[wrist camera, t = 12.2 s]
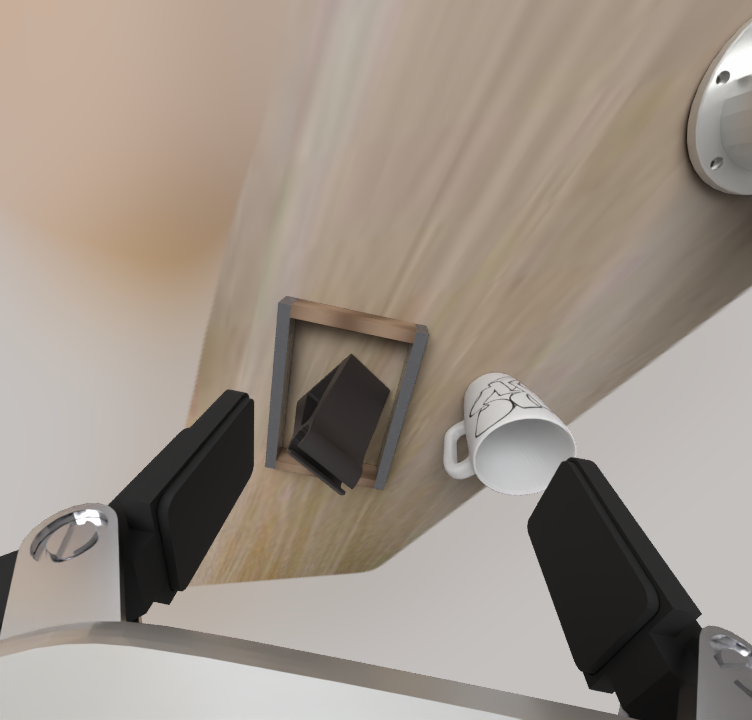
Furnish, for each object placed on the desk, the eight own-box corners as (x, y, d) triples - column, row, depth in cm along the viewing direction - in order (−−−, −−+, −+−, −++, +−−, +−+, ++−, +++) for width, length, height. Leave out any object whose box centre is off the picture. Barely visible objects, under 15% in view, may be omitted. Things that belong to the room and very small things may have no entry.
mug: (459, 452, 40) (477, 523, 31) (416, 405, 37) (423, 468, 28) (546, 402, 36) (596, 466, 27) (505, 347, 34) (545, 397, 25)
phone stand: (335, 432, 40) (312, 517, 29) (297, 400, 38) (258, 477, 27) (390, 389, 37) (388, 465, 26) (352, 352, 35) (333, 417, 24)
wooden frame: (426, 326, 33) (428, 334, 31) (384, 474, 42) (383, 489, 40) (286, 296, 33) (278, 302, 31) (272, 452, 41) (265, 466, 39)
